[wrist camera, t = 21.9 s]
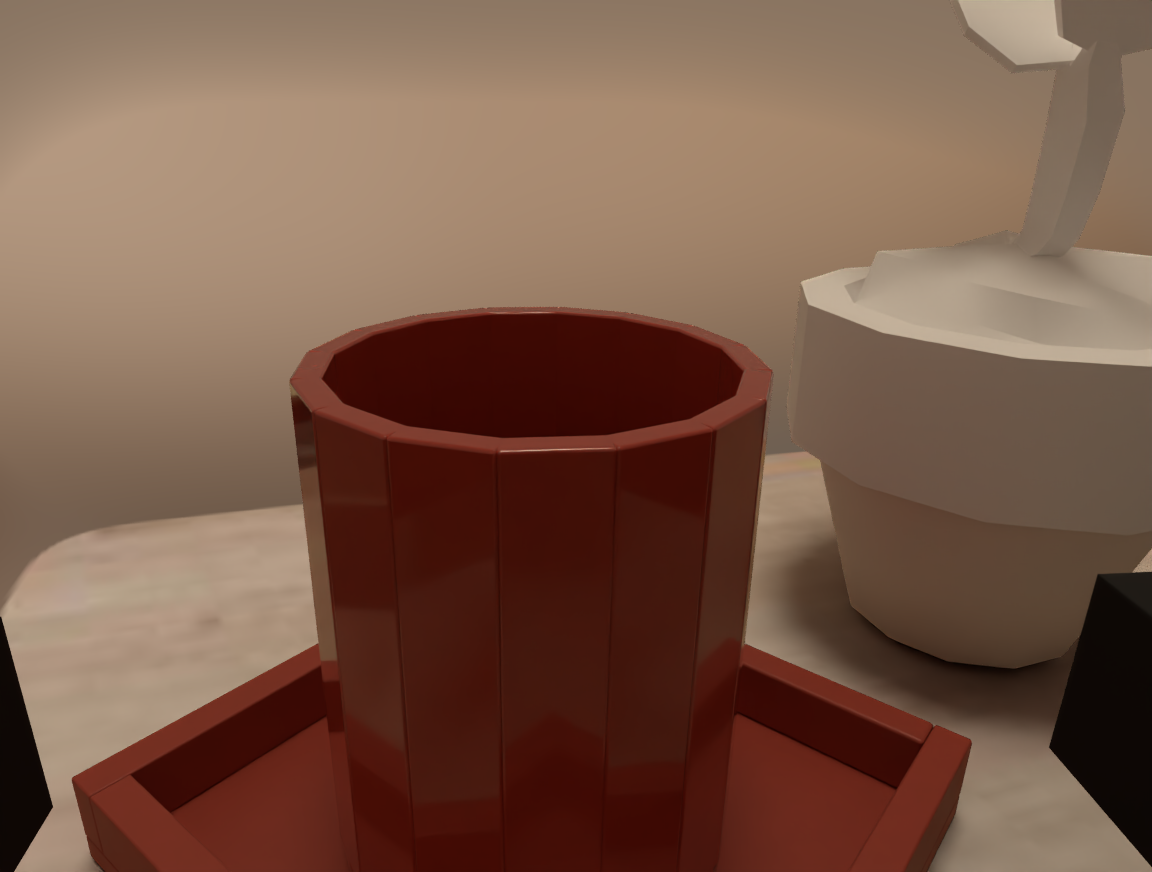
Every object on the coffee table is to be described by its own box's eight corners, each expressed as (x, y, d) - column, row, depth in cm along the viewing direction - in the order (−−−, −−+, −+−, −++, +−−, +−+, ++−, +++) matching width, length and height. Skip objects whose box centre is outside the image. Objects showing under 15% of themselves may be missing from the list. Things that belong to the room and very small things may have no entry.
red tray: (955, 814, 19) (972, 739, 18) (633, 1471, 10) (640, 1378, 9) (506, 599, 27) (505, 540, 26) (90, 856, 18) (70, 777, 17)
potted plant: (1285, 733, 22) (1843, -638, 13) (841, 755, 21) (1089, -720, 11) (1009, 509, 33) (1192, -286, 24) (716, 516, 32) (790, -311, 23)
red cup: (786, 794, 19) (848, 354, 15) (561, 1094, 13) (571, 506, 9) (521, 655, 23) (518, 290, 20) (266, 834, 18) (194, 365, 14)
